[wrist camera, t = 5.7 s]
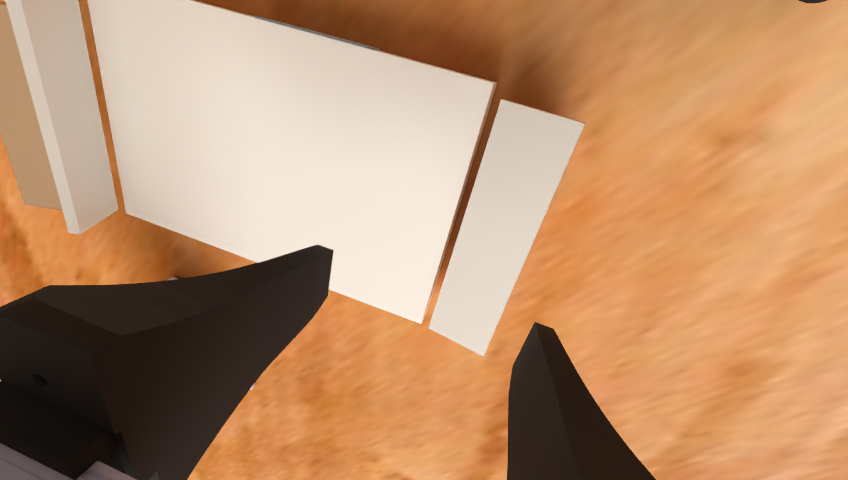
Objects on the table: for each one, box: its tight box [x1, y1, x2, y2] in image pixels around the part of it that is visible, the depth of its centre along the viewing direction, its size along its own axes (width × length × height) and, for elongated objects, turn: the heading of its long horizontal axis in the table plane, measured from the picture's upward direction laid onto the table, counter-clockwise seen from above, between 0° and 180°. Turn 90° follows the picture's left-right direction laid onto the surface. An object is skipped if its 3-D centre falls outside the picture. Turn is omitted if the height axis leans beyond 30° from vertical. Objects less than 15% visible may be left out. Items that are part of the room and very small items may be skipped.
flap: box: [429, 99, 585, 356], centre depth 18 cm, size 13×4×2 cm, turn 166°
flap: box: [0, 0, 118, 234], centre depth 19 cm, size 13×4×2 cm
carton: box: [87, 0, 497, 324], centre depth 21 cm, size 14×22×2 cm, turn 76°
